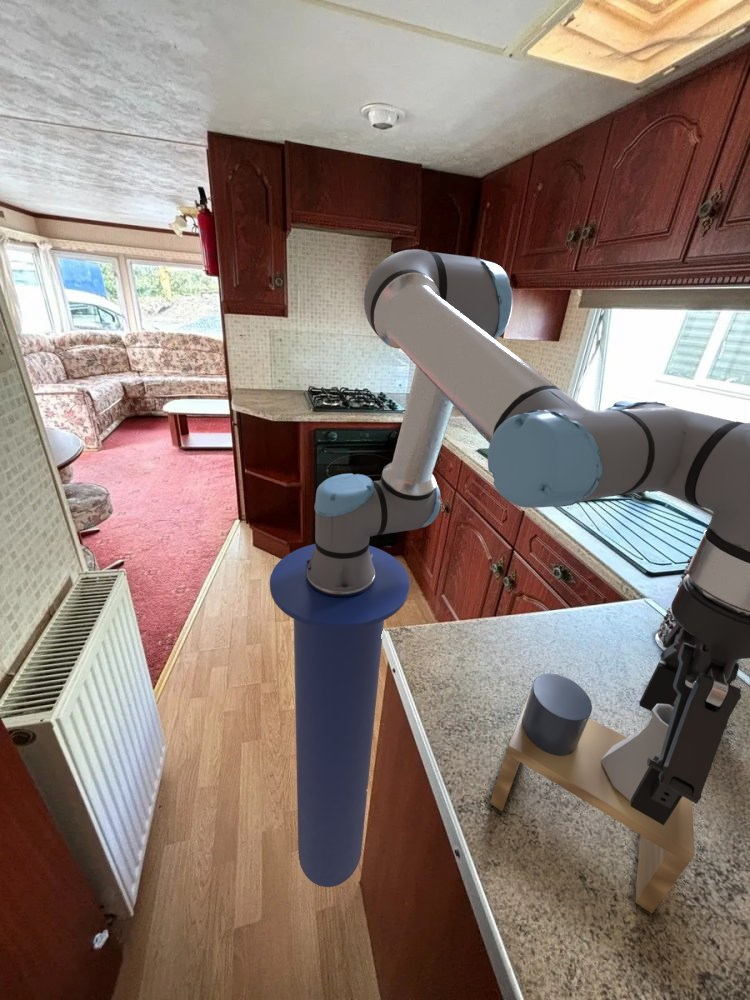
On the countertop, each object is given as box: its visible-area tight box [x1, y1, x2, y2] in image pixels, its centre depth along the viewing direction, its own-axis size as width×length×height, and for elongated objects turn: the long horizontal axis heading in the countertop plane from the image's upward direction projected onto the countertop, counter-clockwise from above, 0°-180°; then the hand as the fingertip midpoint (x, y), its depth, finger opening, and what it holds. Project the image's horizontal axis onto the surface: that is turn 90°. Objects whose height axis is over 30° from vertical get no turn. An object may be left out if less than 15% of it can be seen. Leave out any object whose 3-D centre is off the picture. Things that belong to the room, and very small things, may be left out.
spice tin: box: [522, 673, 593, 756], centre depth 48 cm, size 6×6×6 cm
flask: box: [601, 704, 674, 801], centre depth 43 cm, size 7×7×10 cm
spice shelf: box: [490, 689, 696, 914], centre depth 49 cm, size 18×10×12 cm, turn 56°
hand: (649, 754), depth 43 cm, fingers open, 13 cm apart
